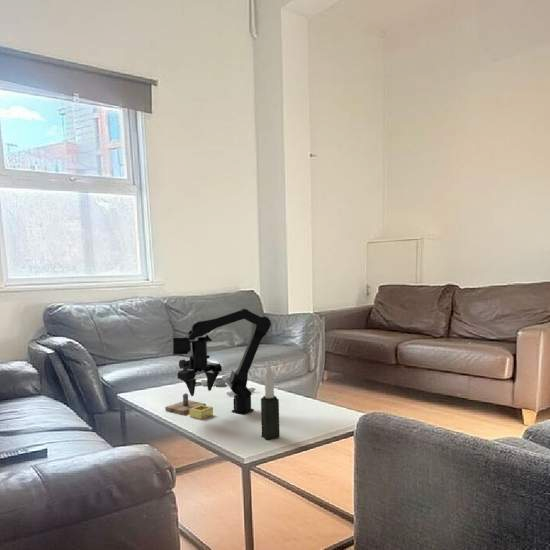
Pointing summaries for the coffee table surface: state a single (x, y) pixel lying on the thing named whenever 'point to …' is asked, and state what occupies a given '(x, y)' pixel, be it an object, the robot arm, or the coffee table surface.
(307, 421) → the coffee table surface
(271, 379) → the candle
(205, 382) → the pulley system
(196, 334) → the robot arm
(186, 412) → the brown base plate
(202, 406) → the brass square frame
